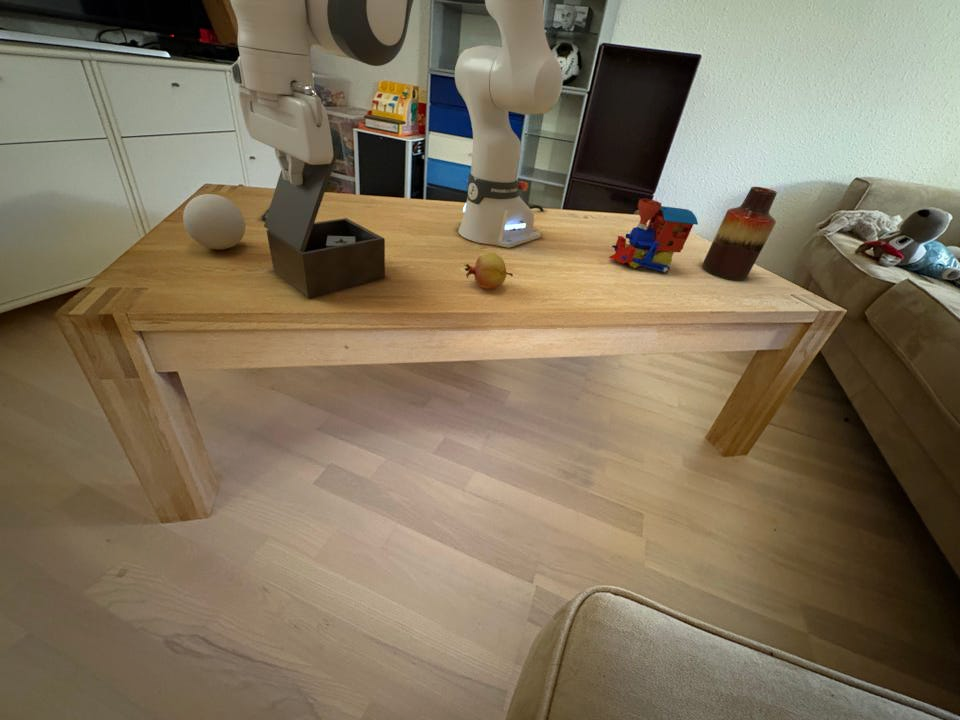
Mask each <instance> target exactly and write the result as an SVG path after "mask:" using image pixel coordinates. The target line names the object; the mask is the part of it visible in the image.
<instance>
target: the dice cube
mask: <svg viewBox="0 0 960 720" xmlns="http://www.w3.org/2000/svg"><path fill="white" fill-rule="evenodd" d="M349 243H355V237H350V236H327V242H326V248H329V247H334V246H339V245H344V244H349Z"/></svg>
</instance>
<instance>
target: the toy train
mask: <svg viewBox="0 0 960 720" xmlns="http://www.w3.org/2000/svg"><path fill="white" fill-rule="evenodd" d="M637 208H638V209H637V210H638V214H639V217H640V220H639V222H638V224H637V225H636V227H633V228H632V230H631V231H630V233H626V234H625V237H624V236H623V235H618V236H617V239H616V243H615V244H612V246H611V248H613V249H614V252H615V253H614V254H612V255H610V256H608V258H609V259H611V260H614V261H616V262H618V263H621V264H625V263H626V264H628V265H629V266H630V268H634V269H637V268H638V267H644V268H648V269H651V270H654V271H657V272H662V273H664V274H667V273H668V272H669V270H670V265H671V263H672V262H673V255H674V254H675V253H681V252H682V250H683V249H684V246H685V243H686V241H687V239H688V237H689V236H690V233H691V230H692V229H693V226H694V225H699V222H698V219H697V216H696V215H695V213H694V212H693V211H692V210H690V209H688V208H680V207H671V206H663V205H662V202H660V201H657V200H655V199H652V198H651V199H650V198H639V200H638V204H637ZM648 221H649V222H648ZM647 223H648V224H647ZM627 240H628V243H627Z"/></svg>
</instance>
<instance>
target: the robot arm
mask: <svg viewBox="0 0 960 720" xmlns="http://www.w3.org/2000/svg"><path fill="white" fill-rule="evenodd" d="M229 2H230V5H231V8H232V10H233V12H234V15H235V19H236V23H237V39H236V40H237V49H238V52H239V56H238V57H237V60H235V62H233V63H232V64H231V66H230V75H231V79H232V81H233V83H234V84H236V85H238V86H237V87H238V88H237V94H238V101H239V105H240V109H241V112H242V113H241V114H242V117H243V121H244V125H245V128H246V130H247V132H248V135H249V136H250V138H251V139H253V140H256V141H258V142H260V143H262V144H264V145H267V146H269V147H271V148H273V149H274V154H275V158H276V159H277V160H276V161H277V162H278V164H279V167H280V169H281V170H282V174H283V179H284V180H285V181H287V182H289V183H291V184H293V185H301V184H302V183H303V178H302V171H303V167H304V164H305V162H306V163H308V164H311V165H319V164H330V163H331V161H332V159H333V146H334V145H333V140H332V139H333V137H332V131H331V127H330V126H331V125H330V120H329V115H328V112H327V109H326V107H325V105H324V104H323V102H322V100H321V98H320V97H319V95H318V94H317V92H316V88H315V87H314V86H315V85H314V76H313V66H312V57H311V48H313V49H315V50H317V51H318V52H322V53H325V54H330V55H334V56H337V57H342V58H348V59H352V60H355V61H358V62H359V63H363V64H365V65H367V66H372V67H380V66H385V65H387V64H389V63H390V62H392V61H393V60H394V59H396V57H398V55H399V53H400V52H401V50H402V48H403V46H404V43H405V41H406V36H407V33H408V28H409V22H410V16H411V11H412V9H413V8H412V7H413V3H414V0H229ZM484 4H485V8H486V11H487V13H488V14H489V16H490V17H491V18H492V19H493V20H494V21H495V22H496V24H497V26H498V29H499V32H500V38H501V46H496V45H489V44H487V45H486V44H483V45H477V46H473V47H468V48H466V49H464V50H463V51H462V52H461V53H460V55H459V56H458V58H457V61H456V64H455V69H454V83H455V86H456V89H457V92H458V93H459V95H460V96H461V97H462V99H463V101H464V102H465V105H466V108H467V110H468V115H469V119H470V123H471V128H472V129H471V130H472V154H471V165H470V166H471V167H470V172H469V174H468V177H467V186H466V191H467V193H466V194H467V198H466V202H465V204H464V206H463V208H462V212H463V215H462V219H461V222H460V225H459V228H458V230H457V232H458V234H459V235H460V236H461V237H462V238H464V239H467V240H469V241H472V242H475V243H479V244H483V245H484V244H485V245H493V246H498V247H502V248H509V249H510V248H513V247H516V246H519V245H523V244H525V243H528V242H532V241H534V240H538V239H540V238H541V235H542V234H541V232H540V231H539V230H538V229H536V228H535V227H534V224H535V215H534V212H533V210H534V209H538V210H540V212H544V208H543V207H542V206H541V205H538V204H533V205H530V206H529V205H528V204H527V203H526V202H525V201H524V200H523V199H522V197H521V196H520V190H521V191H522V192H526V191H527V190H528V189H529V183H528V182H526V181H523V180H520V181H518V172H519V166H520V160H521V154H522V143H521V139H520V138H519V137H518V135H517V134H516V133H515V131H513V129H512V126H511V123H510V118H509V112H511V113H514V114H520V115H524V116H529V115H530V116H531V115H543V114H547V113H549V112H550V111H551V110H552V109H553V108H554V107H555V105H556V104H557V103H558V101H559V98H560V97H561V93H562V90H563V83H564V82H563V81H564V80H563V70H562V67H561V65H560V63H559V61H558V60H557V58H556V57H555V55H554V54H553V52H552V49H551V48H550V45H549V42H548V40H547V39H548V38H547V34H546V31H545V24H544V0H484Z"/></svg>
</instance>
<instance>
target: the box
mask: <svg viewBox="0 0 960 720" xmlns="http://www.w3.org/2000/svg"><path fill="white" fill-rule="evenodd" d="M266 236H267V241H268V247H269V252H270V258H271V265H272V268H273V272H274V273H275V274H276V275H278V276H279V277H280V278H281V279H282V280H284V281H285V282H286V283H288V284H289V285H290V286H291V287H293V288H294V289H296V290H297V291H298V292H299V293H301V294H302V295H303V296H304V297H306V298H307V299H312V298H315V297H319V296H323V295H326V294H327V295H328V294H330V293H334V292H338V291H341V290H345V289H349V288H353V287H356V286H360V285H364V284H367V283H372V282H375V281H378V280H382V279H386V247H385V244H386V242H385V241H386V239H385V238H384V237H382V236H381V235H379V234H377V233H375V232H373V231H371V230H369V229H368V228H366V227H364V226H363V225H360V224H359V223H356V222H354V221H353V220H351V219H349V218H347V217H343V218H338V219H330V220H324V221H317V222H316V221H315V222H314V225H313V228H312V231H311V234H310V237H309V240H308V243H307V245H306V248H305V251H304V252H301V251H299V250H298V249H296V248H295V247H293V246H292V245H290V244H289V243H287V242H286V241H284V240H283V239H282V238H280V237H279V236H277V235H276V234H274V233H273V232H271V231H270V230H268V229H266ZM327 236H350V237H355V243H349V244H344V245H339V246H334V247H329V248H326V242H327Z"/></svg>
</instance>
